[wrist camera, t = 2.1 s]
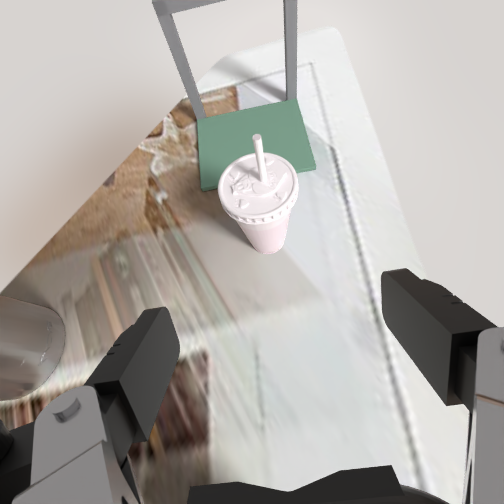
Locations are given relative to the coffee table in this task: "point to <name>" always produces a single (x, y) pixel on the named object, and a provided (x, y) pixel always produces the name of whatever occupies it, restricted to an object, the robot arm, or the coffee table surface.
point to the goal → (248, 120)
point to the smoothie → (260, 196)
